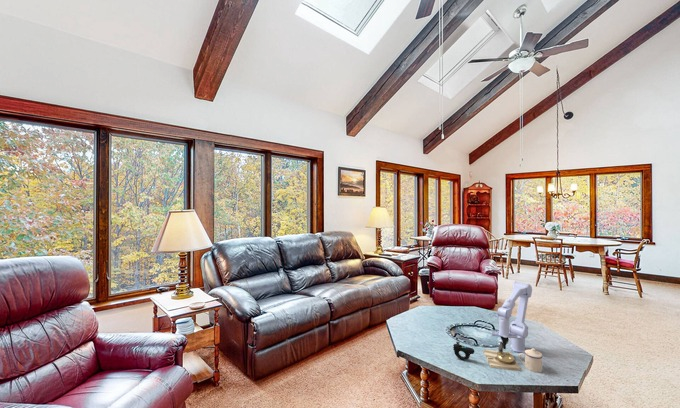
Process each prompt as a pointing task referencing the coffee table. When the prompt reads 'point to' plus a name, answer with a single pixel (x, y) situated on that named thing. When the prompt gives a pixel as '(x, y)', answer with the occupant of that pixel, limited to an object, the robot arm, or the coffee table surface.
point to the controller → (464, 349)
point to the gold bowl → (504, 355)
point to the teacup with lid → (532, 360)
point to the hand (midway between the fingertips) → (504, 348)
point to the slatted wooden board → (495, 363)
